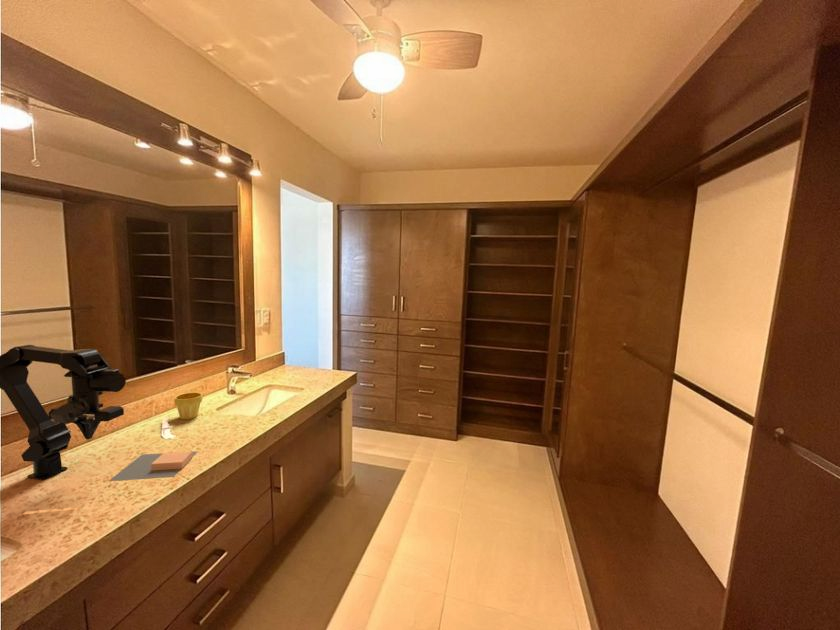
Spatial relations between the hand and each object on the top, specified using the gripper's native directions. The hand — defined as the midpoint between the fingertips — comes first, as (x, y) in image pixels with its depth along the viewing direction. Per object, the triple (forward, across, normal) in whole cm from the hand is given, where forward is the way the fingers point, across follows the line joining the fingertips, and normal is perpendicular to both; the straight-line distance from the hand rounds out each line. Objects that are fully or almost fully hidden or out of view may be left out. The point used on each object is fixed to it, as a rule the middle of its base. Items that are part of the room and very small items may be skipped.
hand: (88, 438), depth 106 cm
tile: (+10, +17, +6) cm, 20 cm away
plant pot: (+12, -2, +46) cm, 48 cm away
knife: (+12, +4, +30) cm, 33 cm away
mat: (+12, +17, +6) cm, 21 cm away
